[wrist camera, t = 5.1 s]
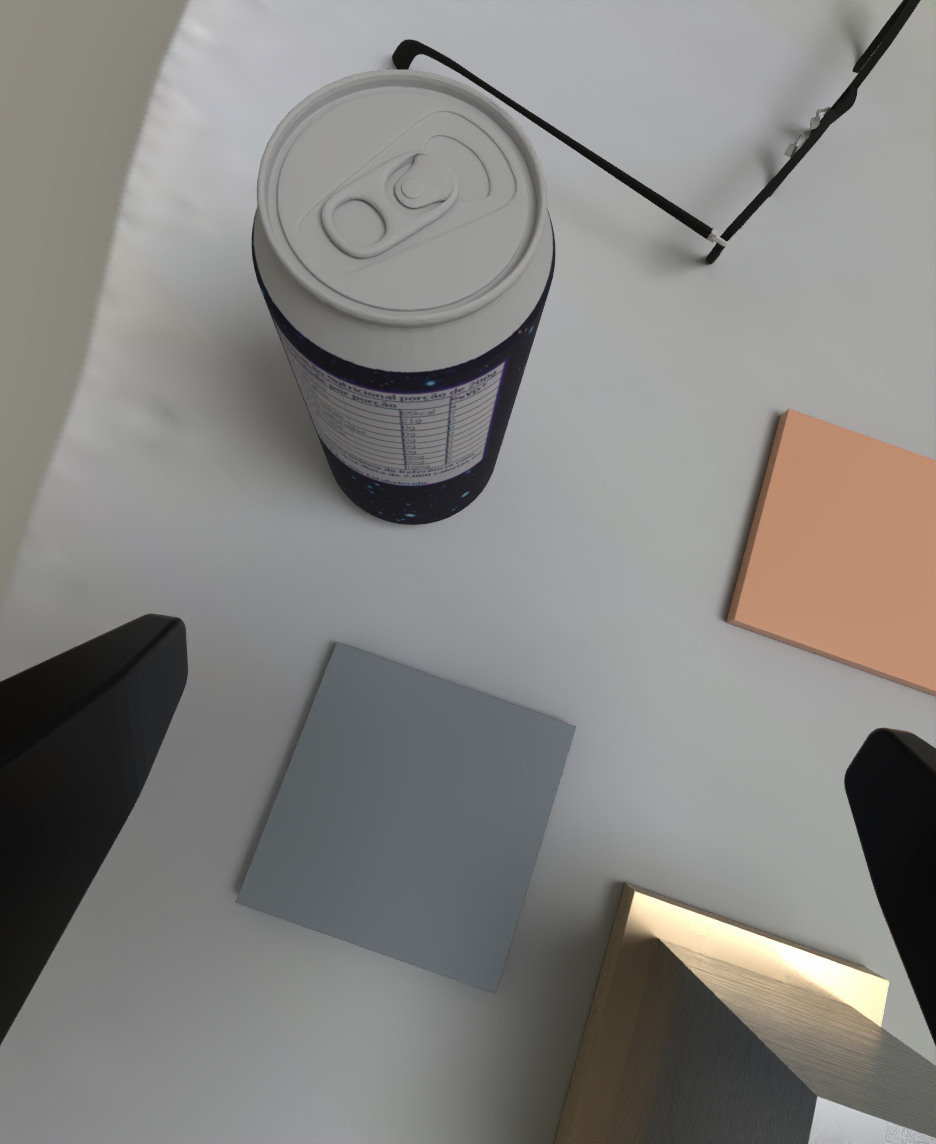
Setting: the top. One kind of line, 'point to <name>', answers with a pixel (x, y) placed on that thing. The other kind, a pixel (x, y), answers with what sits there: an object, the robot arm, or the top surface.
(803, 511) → the terracotta pad
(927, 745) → the robot arm
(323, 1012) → the top surface
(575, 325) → the top surface
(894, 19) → the eyeglasses
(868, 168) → the top surface
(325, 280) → the beverage can
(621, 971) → the grey unit
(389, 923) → the slate pad
